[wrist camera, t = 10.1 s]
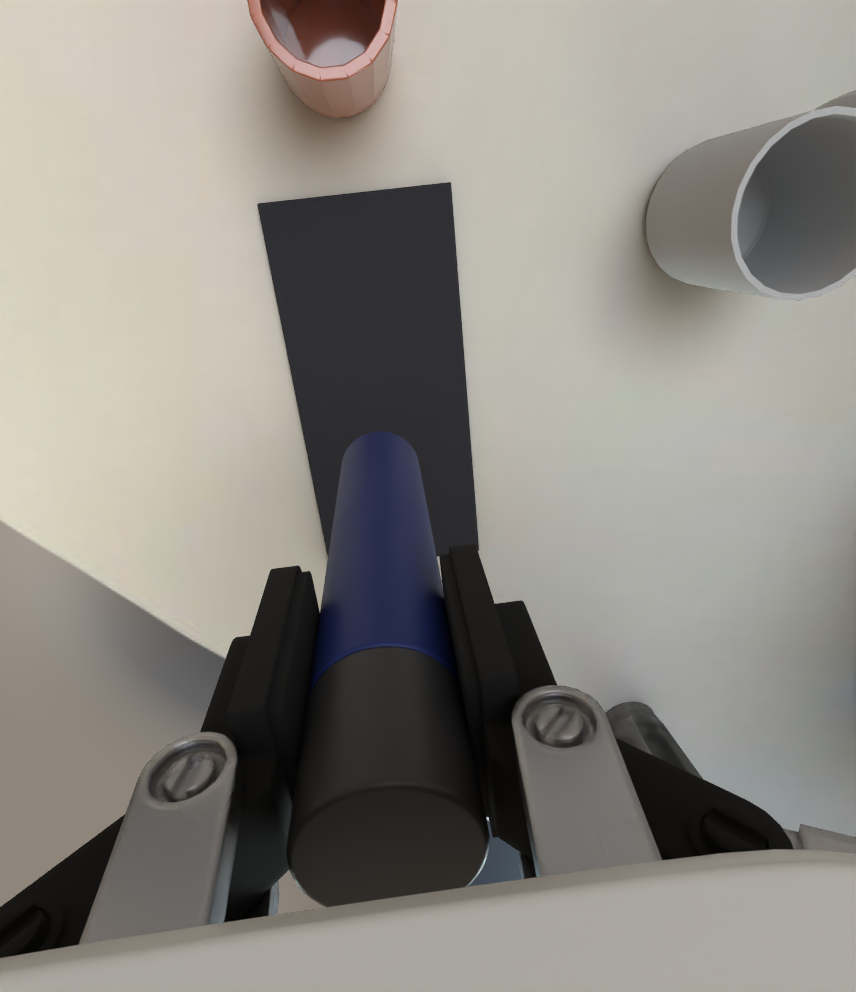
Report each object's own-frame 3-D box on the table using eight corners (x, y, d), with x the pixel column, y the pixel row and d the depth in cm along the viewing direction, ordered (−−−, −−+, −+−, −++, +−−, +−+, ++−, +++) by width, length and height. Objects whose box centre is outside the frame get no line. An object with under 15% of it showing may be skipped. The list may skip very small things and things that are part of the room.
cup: (614, 220, 32) (696, 216, 24) (763, 57, 30) (909, -9, 22) (693, 311, 35) (791, 335, 26) (837, 167, 32) (994, 144, 24)
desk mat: (449, 182, 31) (450, 182, 30) (478, 548, 40) (479, 550, 40) (258, 203, 30) (257, 203, 30) (330, 567, 40) (330, 570, 39)
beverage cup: (568, 747, 48) (685, 1058, 30) (607, 679, 46) (762, 976, 27) (644, 763, 50) (801, 1069, 32) (687, 698, 47) (884, 991, 29)
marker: (414, 426, 19) (485, 770, 7) (422, 498, 20) (496, 906, 8) (335, 435, 19) (265, 801, 7) (347, 507, 20) (305, 934, 8)
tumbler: (383, -23, 27) (386, -117, 20) (397, 112, 29) (404, 72, 22) (268, -12, 27) (228, -102, 20) (291, 123, 29) (263, 87, 22)
